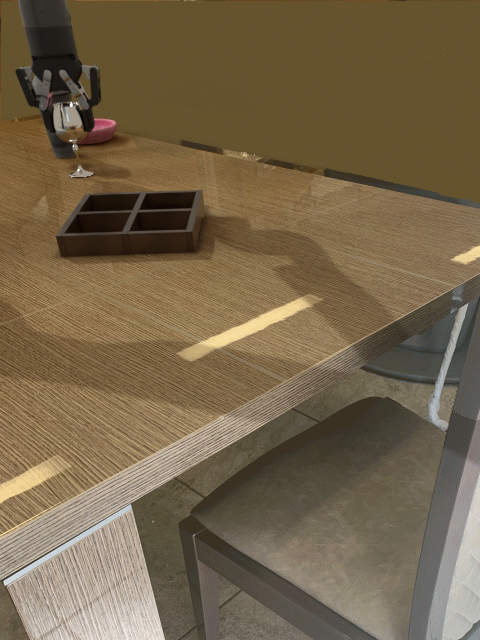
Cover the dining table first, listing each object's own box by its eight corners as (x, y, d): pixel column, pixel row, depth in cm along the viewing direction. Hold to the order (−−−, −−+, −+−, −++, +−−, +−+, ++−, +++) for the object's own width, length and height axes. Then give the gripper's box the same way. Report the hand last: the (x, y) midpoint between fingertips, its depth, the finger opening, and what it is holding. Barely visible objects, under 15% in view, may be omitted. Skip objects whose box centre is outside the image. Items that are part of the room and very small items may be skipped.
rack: (63, 265, 87) (55, 236, 84) (91, 219, 101) (85, 193, 98) (196, 260, 88) (192, 231, 85) (205, 216, 102) (202, 189, 99)
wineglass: (75, 169, 123) (59, 100, 116) (102, 170, 122) (88, 101, 115) (59, 178, 119) (41, 107, 111) (88, 179, 118) (72, 108, 110)
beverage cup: (75, 148, 135) (50, 38, 123) (91, 155, 131) (67, 42, 119) (42, 155, 131) (13, 42, 119) (57, 162, 127) (29, 46, 115)
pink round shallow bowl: (54, 137, 143) (50, 122, 141) (108, 130, 148) (106, 115, 147) (70, 149, 135) (66, 133, 133) (127, 141, 140) (124, 125, 138)
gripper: (-6, 25, 102) (25, 138, 113) (86, 24, 103) (108, 135, 113) (9, 20, 108) (37, 128, 118) (95, 19, 109) (115, 126, 119)
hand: (71, 131), depth 116 cm, fingers closed on wineglass, 6 cm apart
